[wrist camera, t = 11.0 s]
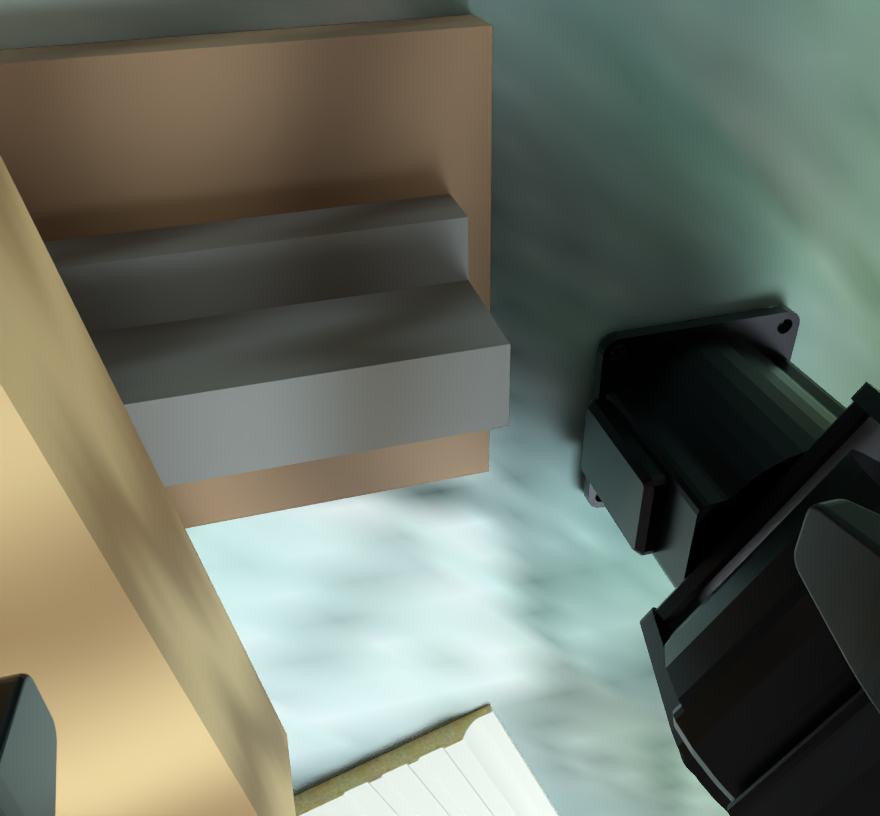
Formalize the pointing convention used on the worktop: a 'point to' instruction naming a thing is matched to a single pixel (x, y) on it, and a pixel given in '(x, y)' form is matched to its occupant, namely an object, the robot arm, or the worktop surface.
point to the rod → (112, 581)
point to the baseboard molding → (438, 777)
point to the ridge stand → (276, 249)
